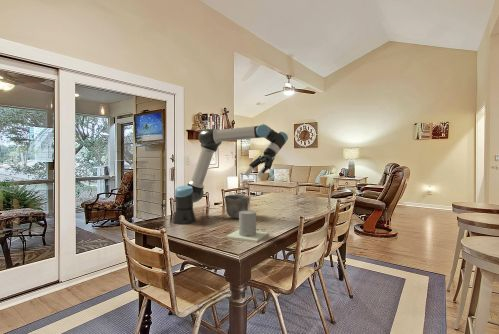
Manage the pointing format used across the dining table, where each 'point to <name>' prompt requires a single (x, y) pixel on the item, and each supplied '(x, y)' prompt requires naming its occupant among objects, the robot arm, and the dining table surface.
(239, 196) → the grey round pot
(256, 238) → the sage placemat
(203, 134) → the robot arm
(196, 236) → the dining table surface
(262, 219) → the dining table surface
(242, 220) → the light grey cylinder
